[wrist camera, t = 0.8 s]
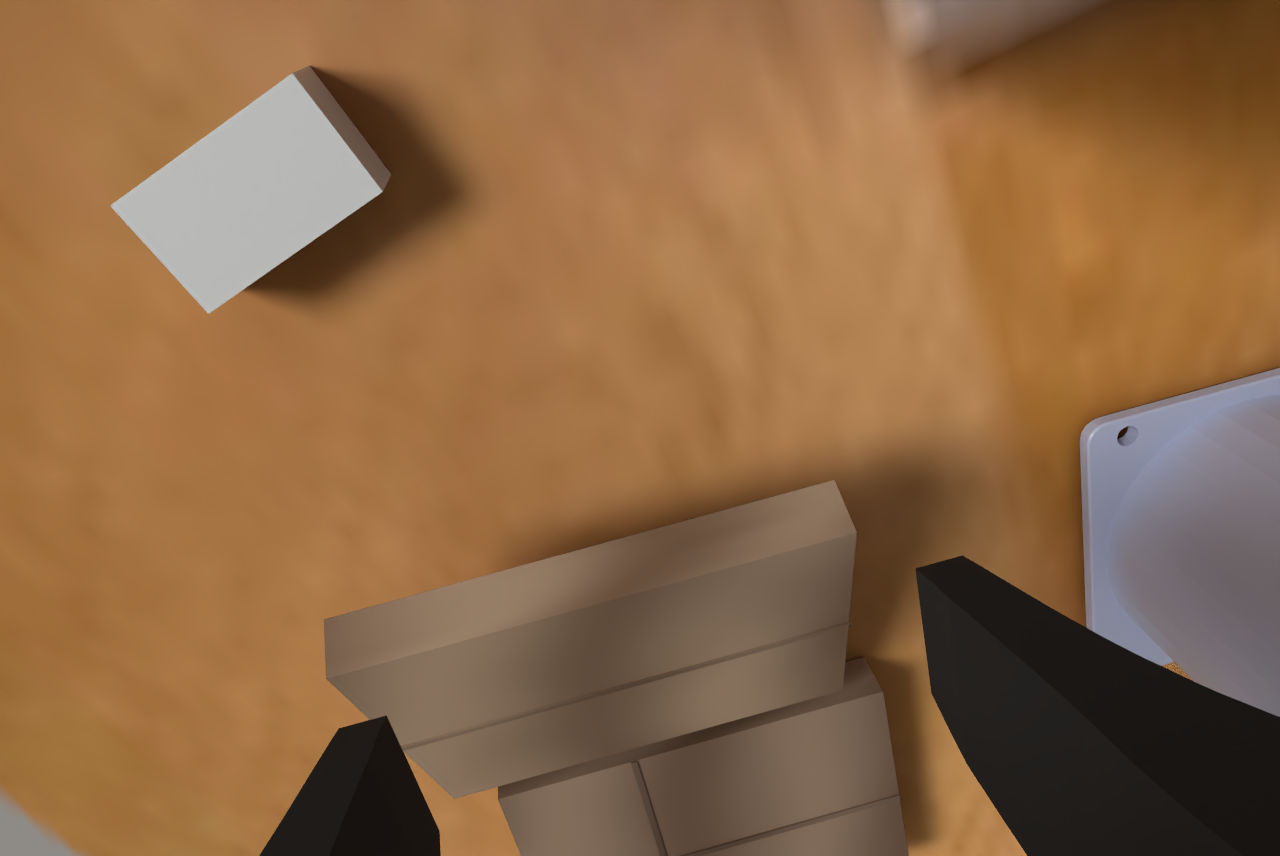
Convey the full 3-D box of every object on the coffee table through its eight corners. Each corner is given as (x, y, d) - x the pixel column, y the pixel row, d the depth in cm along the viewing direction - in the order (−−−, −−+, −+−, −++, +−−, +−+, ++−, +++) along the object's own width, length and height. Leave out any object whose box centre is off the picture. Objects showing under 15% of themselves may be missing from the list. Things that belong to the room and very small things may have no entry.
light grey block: (311, 64, 18) (292, 73, 17) (392, 172, 19) (382, 191, 18) (146, 184, 19) (109, 205, 17) (233, 284, 20) (208, 313, 18)
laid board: (864, 657, 26) (883, 692, 24) (893, 834, 29) (912, 875, 27) (498, 758, 25) (497, 800, 24) (565, 928, 28) (568, 973, 27)
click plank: (834, 479, 19) (857, 534, 18) (826, 646, 25) (843, 692, 24) (324, 619, 18) (326, 681, 18) (449, 751, 25) (454, 800, 24)
